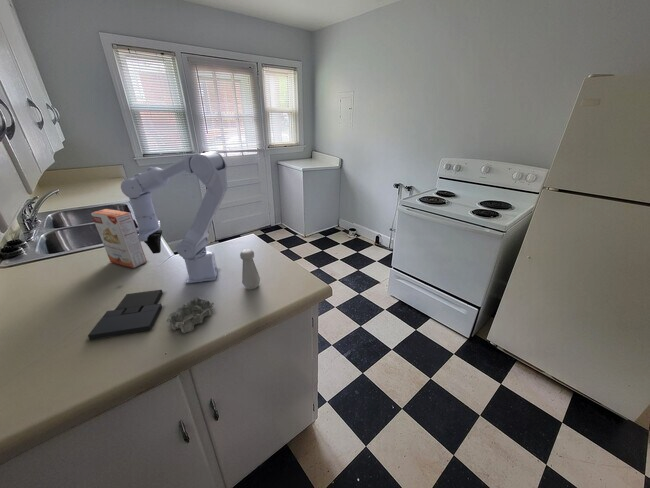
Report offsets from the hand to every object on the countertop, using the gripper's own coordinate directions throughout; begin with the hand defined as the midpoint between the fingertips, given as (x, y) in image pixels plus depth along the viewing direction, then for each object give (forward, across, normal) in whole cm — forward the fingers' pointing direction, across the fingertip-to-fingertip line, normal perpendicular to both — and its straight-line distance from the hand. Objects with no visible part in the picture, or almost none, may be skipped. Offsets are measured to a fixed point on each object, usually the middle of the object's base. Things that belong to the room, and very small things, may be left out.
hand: (156, 252), depth 93 cm
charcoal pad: (+9, +25, -2) cm, 27 cm away
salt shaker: (+10, +15, +31) cm, 36 cm away
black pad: (+9, +17, -2) cm, 20 cm away
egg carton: (+10, +28, +15) cm, 33 cm away
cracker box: (+10, -15, -17) cm, 25 cm away
